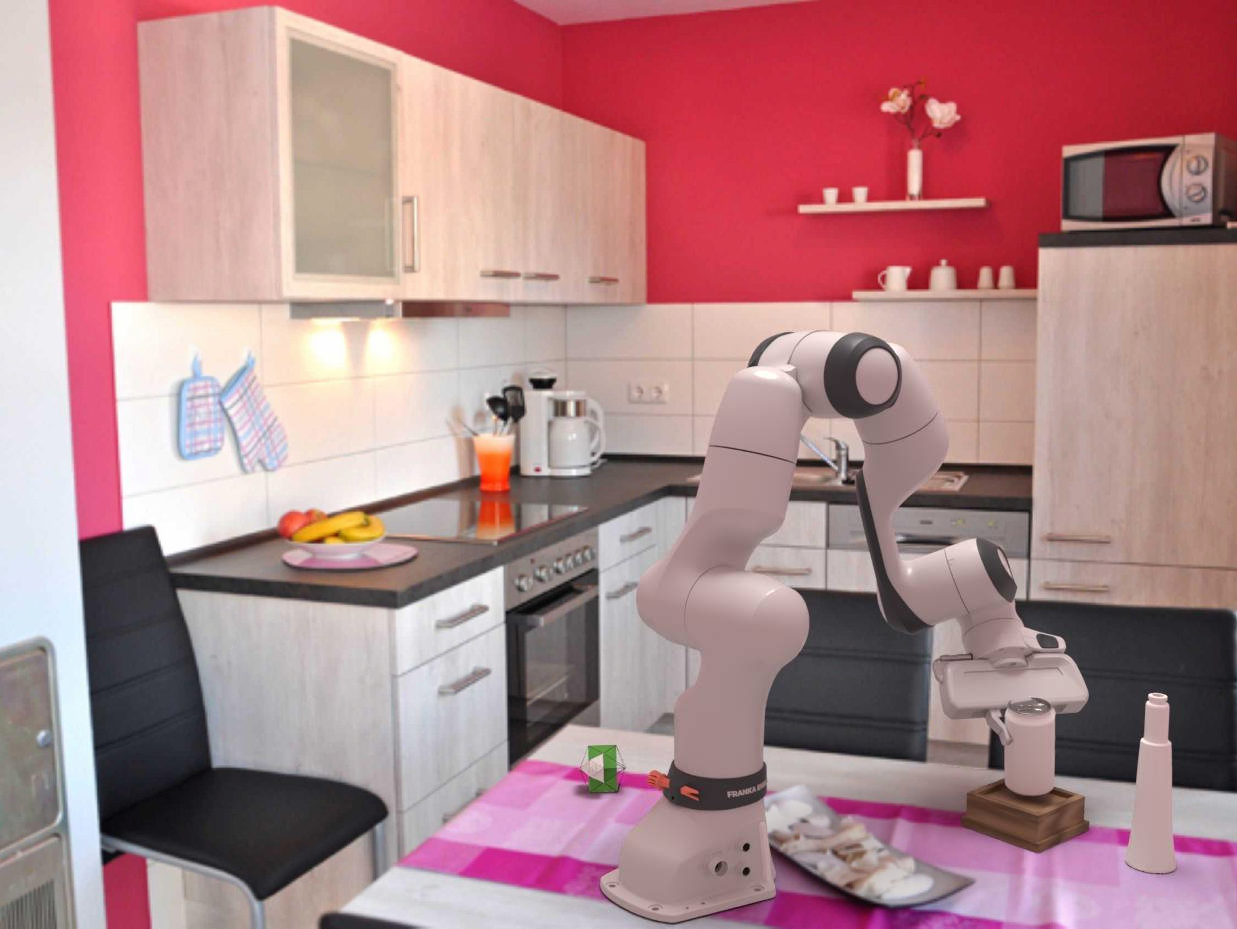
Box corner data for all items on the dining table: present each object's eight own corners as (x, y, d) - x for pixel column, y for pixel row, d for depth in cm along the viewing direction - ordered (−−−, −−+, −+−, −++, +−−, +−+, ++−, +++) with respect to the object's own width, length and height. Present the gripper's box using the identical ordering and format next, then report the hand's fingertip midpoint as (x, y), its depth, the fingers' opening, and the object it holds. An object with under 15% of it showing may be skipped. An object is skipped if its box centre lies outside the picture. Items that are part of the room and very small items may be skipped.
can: (1059, 797, 175) (1060, 714, 172) (1009, 798, 176) (1010, 716, 173) (1047, 774, 182) (1048, 694, 179) (1000, 775, 182) (1000, 695, 179)
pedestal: (1037, 853, 170) (1039, 818, 169) (960, 825, 179) (961, 792, 178) (1089, 829, 177) (1090, 796, 177) (1012, 804, 186) (1013, 772, 186)
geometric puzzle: (578, 763, 198) (578, 732, 192) (623, 762, 198) (625, 731, 193) (579, 805, 193) (580, 775, 187) (626, 804, 193) (628, 773, 188)
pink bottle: (1114, 858, 168) (1121, 691, 165) (1151, 851, 170) (1159, 686, 168) (1148, 877, 162) (1156, 704, 160) (1187, 869, 164) (1195, 699, 162)
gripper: (935, 644, 180) (963, 735, 172) (1074, 637, 184) (1108, 727, 175) (922, 667, 185) (948, 757, 177) (1057, 660, 189) (1090, 748, 180)
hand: (1029, 742), depth 176 cm, fingers closed on can, 4 cm apart
